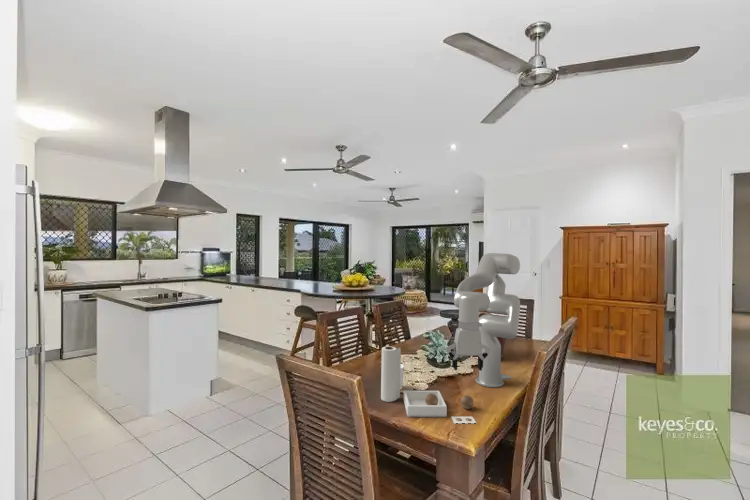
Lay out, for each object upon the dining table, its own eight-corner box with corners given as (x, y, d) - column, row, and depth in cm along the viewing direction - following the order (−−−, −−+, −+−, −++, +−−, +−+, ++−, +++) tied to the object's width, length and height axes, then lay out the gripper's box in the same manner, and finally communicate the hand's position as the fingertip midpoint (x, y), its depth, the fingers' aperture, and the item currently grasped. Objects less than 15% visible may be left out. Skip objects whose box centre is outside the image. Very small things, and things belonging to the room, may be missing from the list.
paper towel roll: (378, 400, 152) (379, 348, 151) (383, 395, 157) (384, 345, 157) (395, 403, 149) (396, 351, 149) (400, 398, 155) (400, 347, 154)
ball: (436, 403, 148) (436, 391, 148) (439, 409, 143) (439, 396, 143) (424, 403, 148) (424, 391, 148) (426, 409, 143) (426, 396, 143)
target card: (472, 417, 138) (472, 416, 138) (476, 423, 133) (476, 422, 133) (451, 417, 138) (451, 416, 138) (454, 423, 133) (454, 422, 133)
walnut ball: (471, 405, 148) (471, 393, 148) (475, 411, 143) (475, 398, 143) (459, 405, 148) (459, 393, 148) (462, 411, 143) (462, 398, 143)
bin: (438, 400, 153) (439, 390, 153) (446, 417, 138) (446, 406, 138) (403, 400, 153) (403, 390, 152) (407, 416, 138) (407, 406, 138)
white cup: (394, 383, 171) (394, 361, 171) (407, 388, 165) (407, 366, 165) (382, 387, 165) (382, 365, 165) (395, 393, 160) (395, 370, 159)
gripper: (487, 324, 149) (486, 366, 149) (444, 323, 149) (443, 365, 149) (493, 328, 142) (492, 372, 142) (448, 327, 141) (447, 372, 141)
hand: (467, 369), depth 145 cm, fingers open, 9 cm apart
